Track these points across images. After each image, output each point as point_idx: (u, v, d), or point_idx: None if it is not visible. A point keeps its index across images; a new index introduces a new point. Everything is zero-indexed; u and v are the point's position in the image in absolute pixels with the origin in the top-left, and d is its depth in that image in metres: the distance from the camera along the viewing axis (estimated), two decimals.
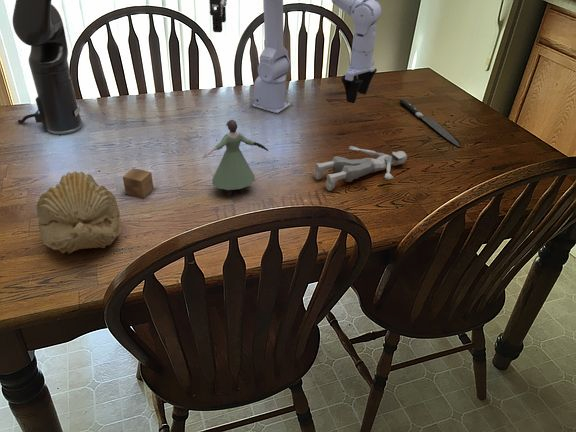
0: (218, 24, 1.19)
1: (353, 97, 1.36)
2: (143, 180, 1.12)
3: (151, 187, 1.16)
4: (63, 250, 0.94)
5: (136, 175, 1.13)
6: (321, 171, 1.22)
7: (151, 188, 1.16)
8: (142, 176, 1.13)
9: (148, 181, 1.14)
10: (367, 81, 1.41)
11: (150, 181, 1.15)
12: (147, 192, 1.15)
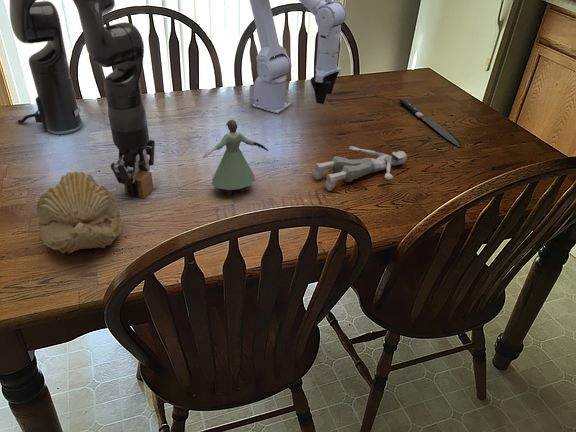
0: None
1: (323, 98, 1.39)
2: (143, 180, 1.12)
3: (151, 187, 1.16)
4: (63, 250, 0.94)
5: (136, 175, 1.13)
6: (321, 171, 1.22)
7: (151, 188, 1.16)
8: (142, 176, 1.13)
9: (148, 181, 1.14)
10: (332, 81, 1.44)
11: (150, 181, 1.15)
12: (147, 192, 1.15)
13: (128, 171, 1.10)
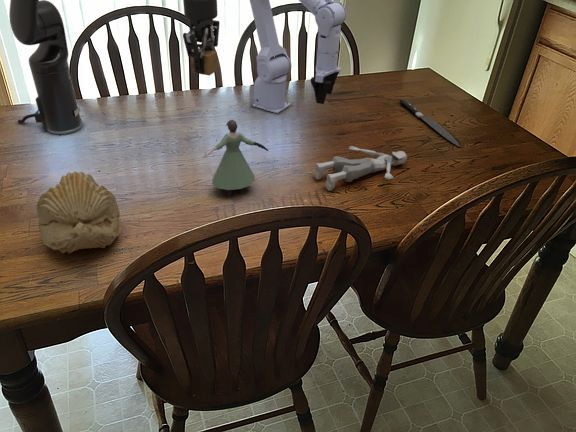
0: None
1: (323, 98, 1.39)
2: (210, 56, 1.18)
3: (215, 67, 1.22)
4: (63, 250, 0.94)
5: None
6: (321, 171, 1.22)
7: (215, 68, 1.22)
8: (209, 53, 1.19)
9: (213, 59, 1.20)
10: (332, 81, 1.44)
11: (215, 60, 1.21)
12: (212, 70, 1.21)
13: (197, 45, 1.16)
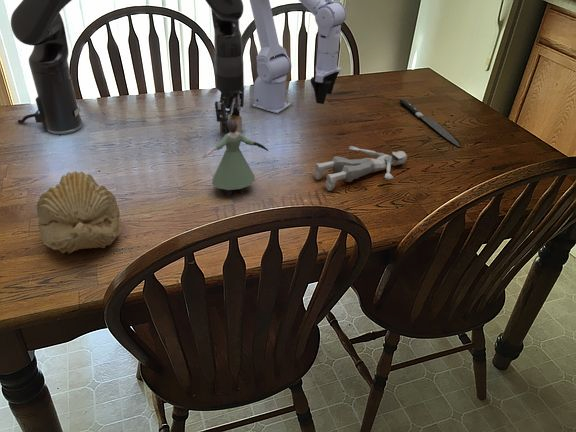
0: None
1: (323, 98, 1.39)
2: (236, 122, 1.38)
3: (240, 129, 1.42)
4: (63, 250, 0.94)
5: (230, 118, 1.39)
6: (321, 171, 1.22)
7: (240, 130, 1.42)
8: (235, 119, 1.39)
9: (239, 123, 1.40)
10: (332, 81, 1.44)
11: (240, 124, 1.41)
12: None
13: None
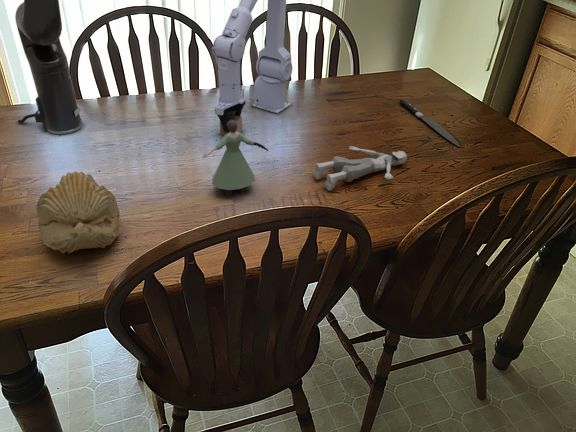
0: None
1: None
2: (236, 122, 1.38)
3: (240, 129, 1.42)
4: (63, 250, 0.94)
5: None
6: (321, 171, 1.22)
7: (240, 130, 1.42)
8: (235, 119, 1.39)
9: (239, 123, 1.40)
10: (237, 113, 1.40)
11: (240, 124, 1.41)
12: None
13: None
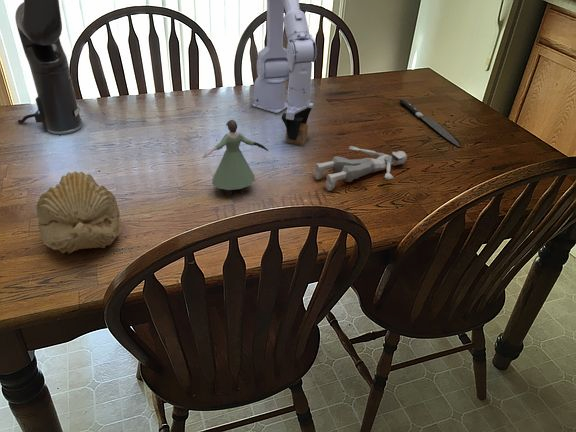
0: None
1: (295, 134, 1.34)
2: (304, 130, 1.36)
3: (306, 137, 1.40)
4: (63, 250, 0.94)
5: None
6: (321, 171, 1.22)
7: (306, 138, 1.40)
8: (302, 127, 1.36)
9: (305, 131, 1.37)
10: (305, 115, 1.39)
11: (306, 132, 1.38)
12: (304, 141, 1.38)
13: None
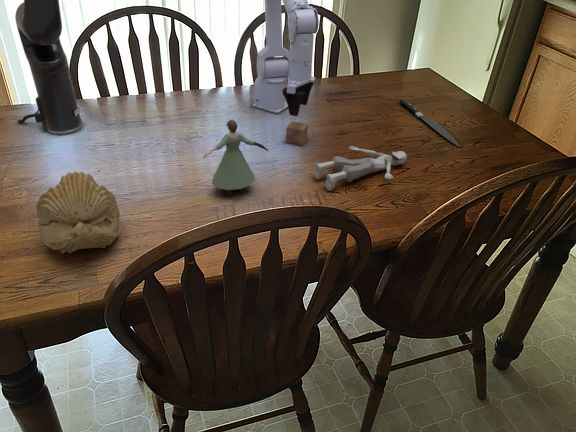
0: None
1: (296, 110, 1.30)
2: (304, 130, 1.36)
3: (306, 137, 1.40)
4: (63, 250, 0.94)
5: (297, 126, 1.37)
6: (321, 171, 1.22)
7: (306, 138, 1.40)
8: (302, 127, 1.36)
9: (305, 131, 1.37)
10: (307, 91, 1.34)
11: (306, 132, 1.38)
12: (304, 141, 1.38)
13: None
